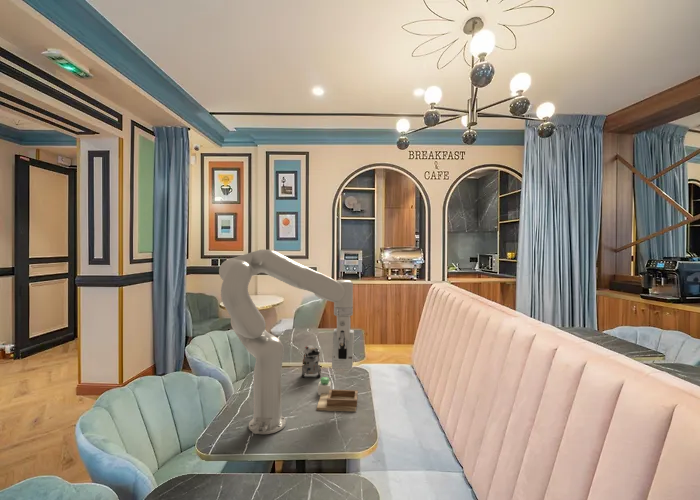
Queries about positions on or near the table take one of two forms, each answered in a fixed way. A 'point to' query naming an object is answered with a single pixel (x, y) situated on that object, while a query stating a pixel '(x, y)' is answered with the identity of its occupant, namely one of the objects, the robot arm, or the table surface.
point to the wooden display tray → (338, 400)
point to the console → (324, 388)
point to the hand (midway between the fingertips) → (343, 355)
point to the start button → (324, 380)
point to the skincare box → (348, 361)
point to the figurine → (311, 361)
